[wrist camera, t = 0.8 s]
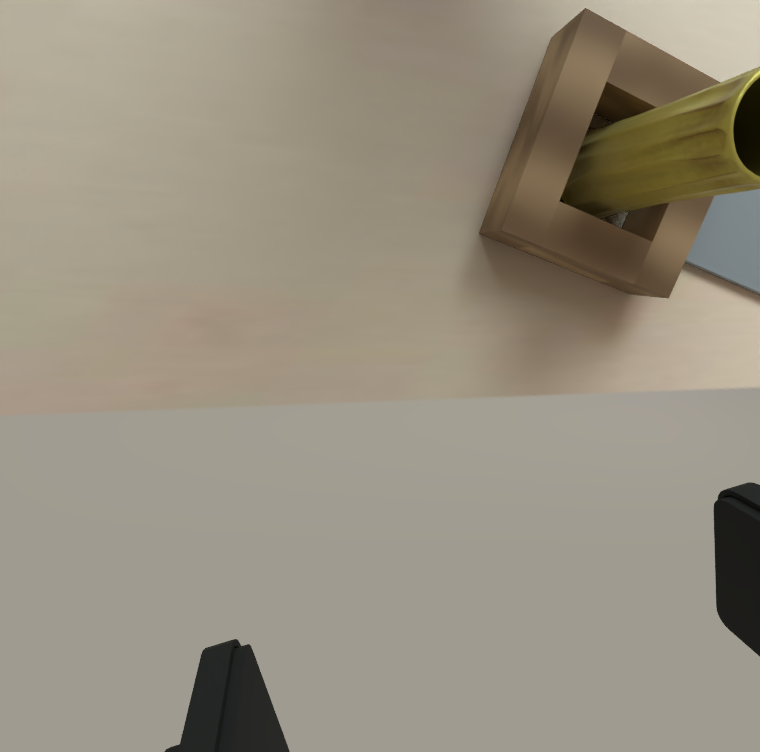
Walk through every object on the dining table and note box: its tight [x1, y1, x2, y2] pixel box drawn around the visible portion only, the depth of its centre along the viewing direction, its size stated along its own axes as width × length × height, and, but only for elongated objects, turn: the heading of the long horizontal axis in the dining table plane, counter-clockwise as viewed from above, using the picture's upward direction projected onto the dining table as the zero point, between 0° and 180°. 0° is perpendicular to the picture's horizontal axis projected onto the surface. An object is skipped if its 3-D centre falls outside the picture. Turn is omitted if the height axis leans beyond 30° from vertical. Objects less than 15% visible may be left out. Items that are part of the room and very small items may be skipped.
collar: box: [479, 8, 720, 298], centre depth 34 cm, size 14×14×4 cm
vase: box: [561, 67, 760, 218], centre depth 29 cm, size 6×6×14 cm
